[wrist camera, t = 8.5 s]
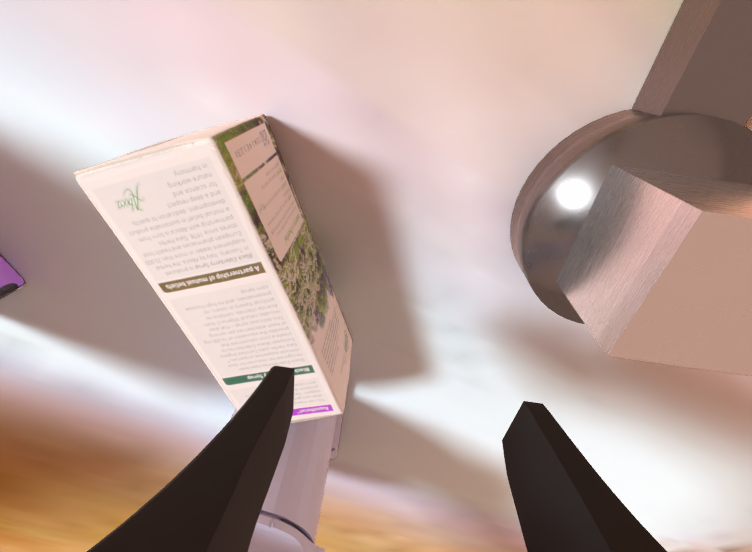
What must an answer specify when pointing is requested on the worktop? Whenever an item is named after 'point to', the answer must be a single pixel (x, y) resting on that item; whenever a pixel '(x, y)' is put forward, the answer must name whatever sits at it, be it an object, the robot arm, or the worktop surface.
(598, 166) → the ratchet
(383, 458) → the worktop surface
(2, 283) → the candy box
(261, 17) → the worktop surface
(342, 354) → the syrup box
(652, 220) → the beige small block
